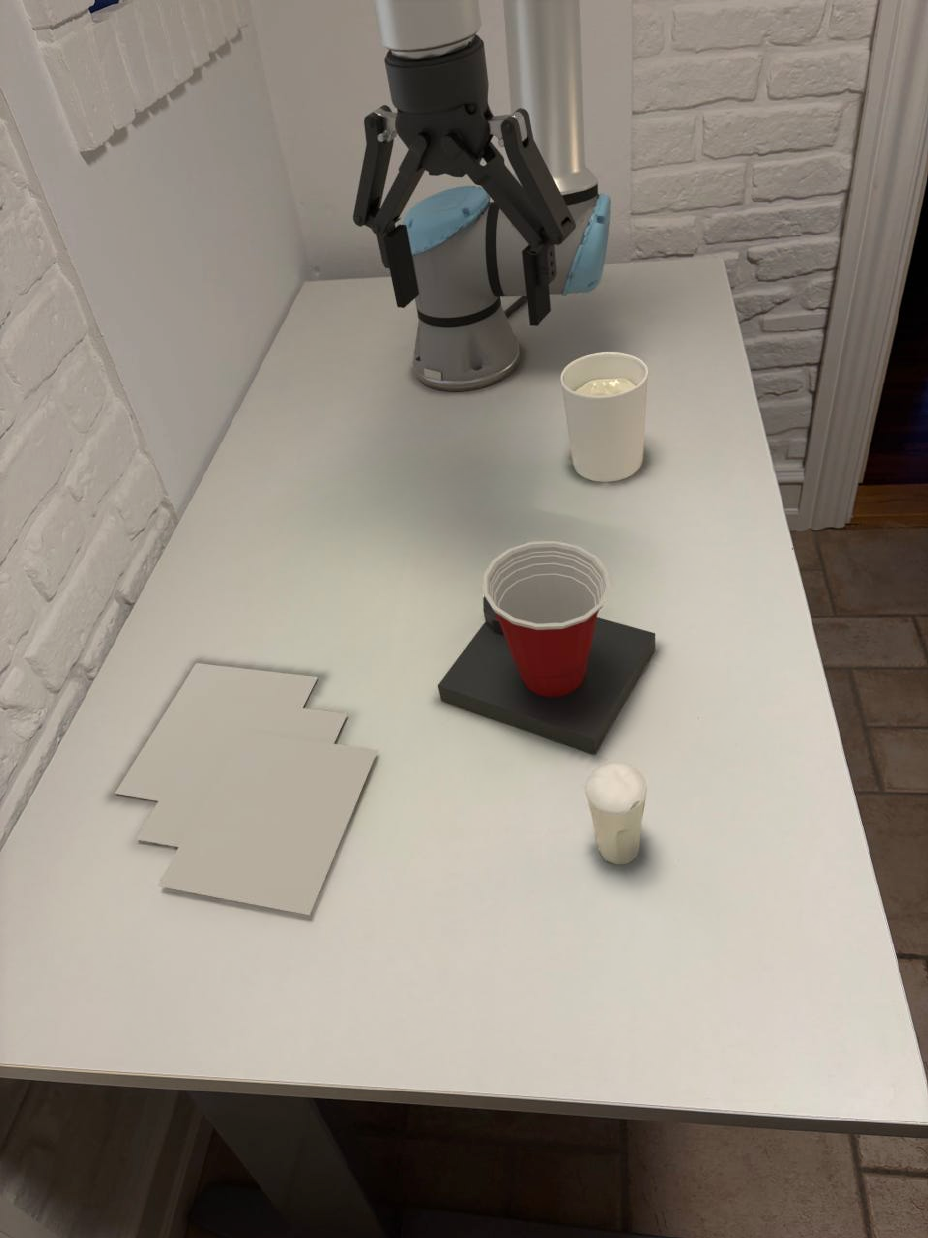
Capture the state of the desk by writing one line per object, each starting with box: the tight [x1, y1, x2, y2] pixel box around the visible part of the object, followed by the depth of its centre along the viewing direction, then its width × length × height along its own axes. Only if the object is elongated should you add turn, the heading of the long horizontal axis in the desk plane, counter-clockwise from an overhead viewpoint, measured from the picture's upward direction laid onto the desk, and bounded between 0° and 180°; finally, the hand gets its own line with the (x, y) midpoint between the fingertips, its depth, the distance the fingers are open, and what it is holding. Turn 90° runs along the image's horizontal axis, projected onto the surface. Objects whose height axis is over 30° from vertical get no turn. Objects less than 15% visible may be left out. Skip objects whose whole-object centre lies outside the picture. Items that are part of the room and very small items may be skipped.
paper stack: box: [114, 662, 379, 916], centre depth 87 cm, size 23×25×1 cm
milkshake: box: [584, 761, 648, 866], centre depth 73 cm, size 4×5×10 cm
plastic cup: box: [482, 540, 612, 698], centre depth 84 cm, size 11×11×12 cm
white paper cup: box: [559, 351, 649, 483], centre depth 111 cm, size 10×10×12 cm
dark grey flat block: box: [437, 595, 656, 755], centre depth 91 cm, size 15×17×4 cm
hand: (472, 309), depth 85 cm, fingers open, 13 cm apart
